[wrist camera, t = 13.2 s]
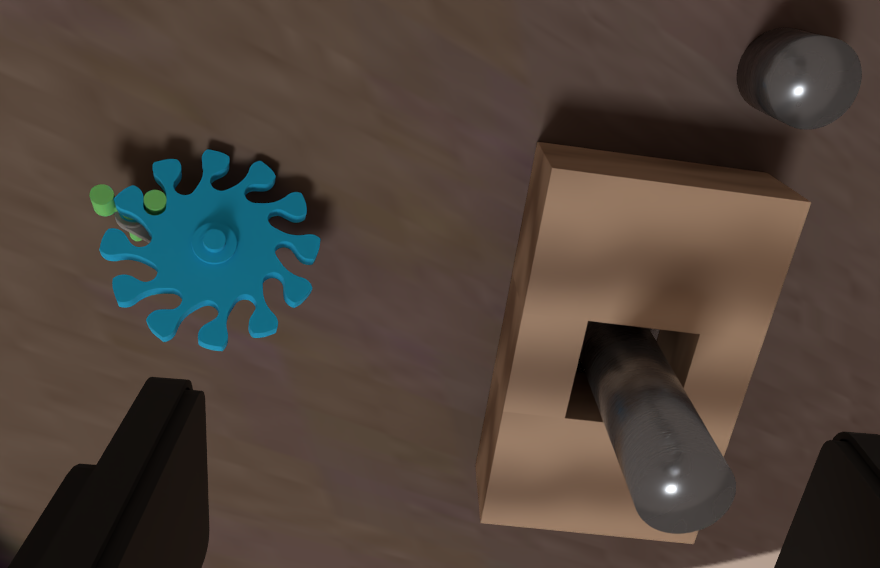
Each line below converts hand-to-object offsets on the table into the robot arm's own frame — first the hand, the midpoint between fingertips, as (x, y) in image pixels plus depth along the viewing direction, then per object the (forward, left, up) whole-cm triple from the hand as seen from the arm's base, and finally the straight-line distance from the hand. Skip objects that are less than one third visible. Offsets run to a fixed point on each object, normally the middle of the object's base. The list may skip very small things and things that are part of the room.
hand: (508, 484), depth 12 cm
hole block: (+11, +11, -29) cm, 33 cm away
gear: (+7, -11, -29) cm, 32 cm away
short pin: (-4, +16, -29) cm, 33 cm away
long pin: (+11, +11, -29) cm, 33 cm away
